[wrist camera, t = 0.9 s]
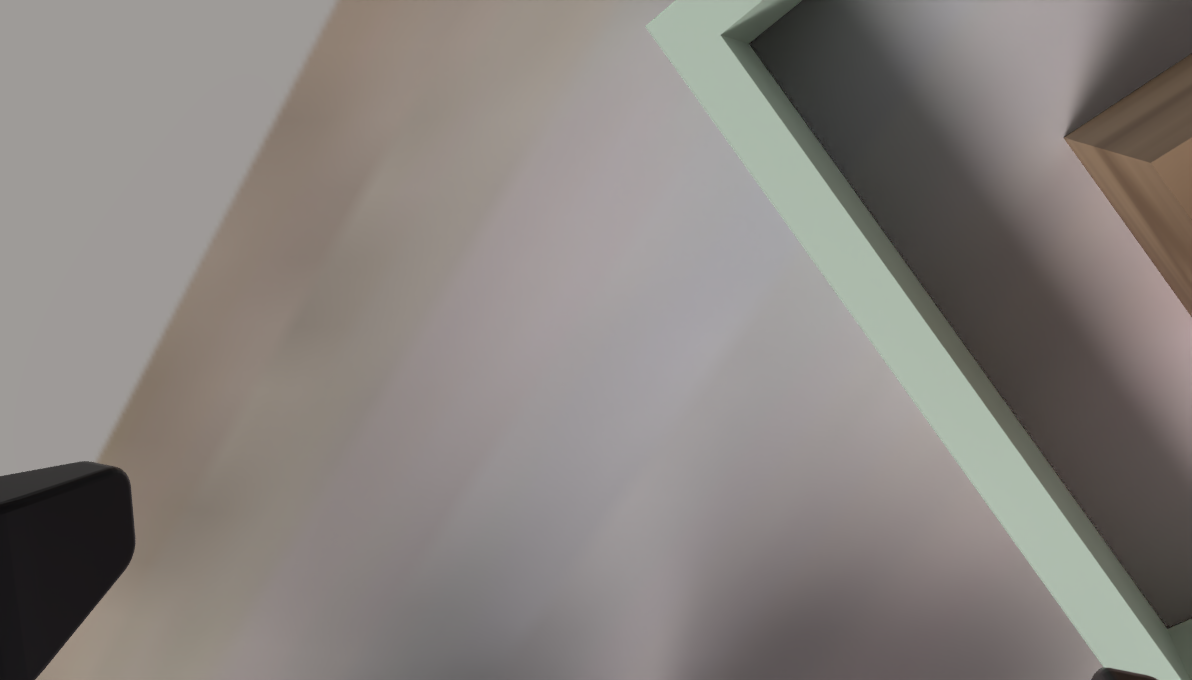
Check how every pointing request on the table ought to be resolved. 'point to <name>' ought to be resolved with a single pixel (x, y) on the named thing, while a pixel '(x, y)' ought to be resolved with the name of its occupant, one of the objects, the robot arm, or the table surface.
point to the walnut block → (1149, 169)
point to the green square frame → (913, 333)
